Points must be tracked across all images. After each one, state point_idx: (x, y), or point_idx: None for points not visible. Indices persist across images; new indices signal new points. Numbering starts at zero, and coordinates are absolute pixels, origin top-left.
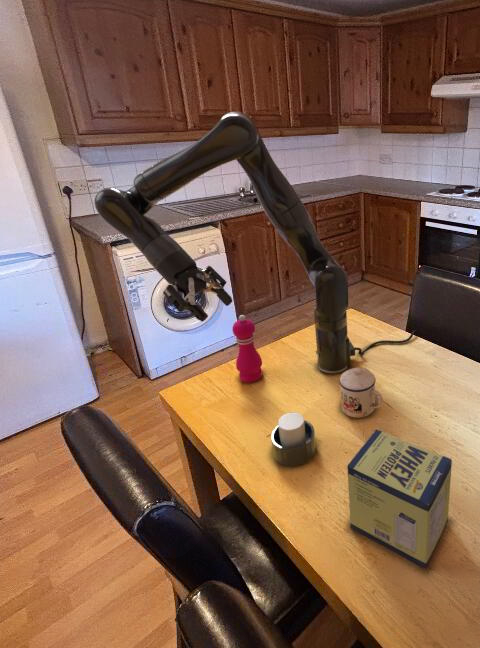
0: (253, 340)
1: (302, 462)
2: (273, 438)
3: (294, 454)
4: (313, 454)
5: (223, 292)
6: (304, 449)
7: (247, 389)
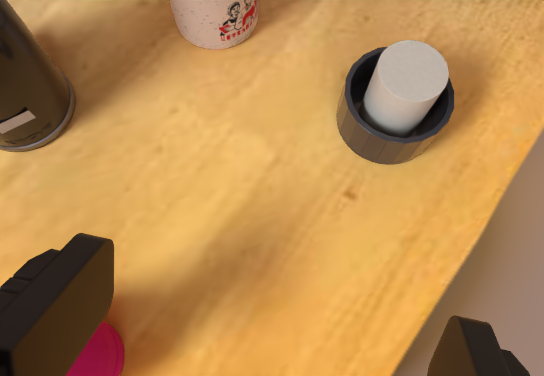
0: None
1: None
2: (428, 132)
3: None
4: None
5: (30, 313)
6: None
7: (161, 340)
